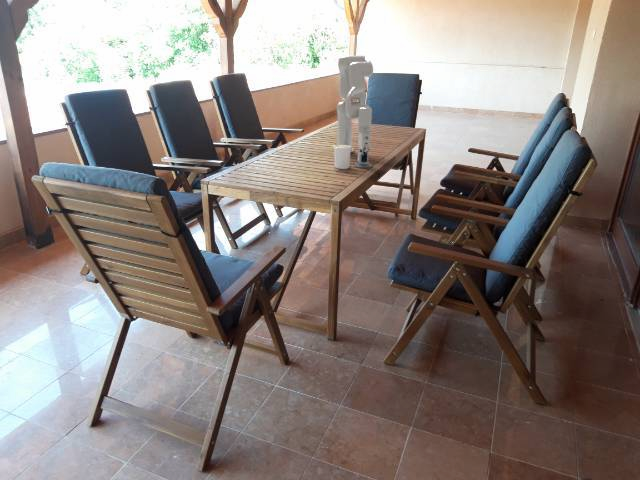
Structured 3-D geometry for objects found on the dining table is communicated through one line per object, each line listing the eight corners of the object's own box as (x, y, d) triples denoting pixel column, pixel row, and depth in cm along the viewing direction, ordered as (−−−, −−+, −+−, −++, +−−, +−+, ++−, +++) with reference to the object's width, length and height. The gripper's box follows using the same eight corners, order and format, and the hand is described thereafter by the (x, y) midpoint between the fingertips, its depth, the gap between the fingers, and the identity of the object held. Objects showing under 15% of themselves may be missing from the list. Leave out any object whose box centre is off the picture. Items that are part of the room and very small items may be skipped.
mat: (353, 163, 284) (353, 162, 283) (367, 163, 285) (367, 162, 285) (357, 167, 275) (357, 166, 274) (372, 167, 276) (372, 166, 276)
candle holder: (336, 169, 270) (336, 148, 266) (331, 165, 279) (331, 145, 274) (352, 168, 273) (353, 147, 268) (347, 164, 281) (347, 144, 277)
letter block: (365, 160, 282) (366, 151, 280) (368, 162, 277) (368, 153, 275) (357, 160, 281) (357, 152, 279) (359, 162, 276) (359, 153, 274)
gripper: (375, 131, 265) (373, 164, 272) (366, 126, 280) (364, 157, 287) (362, 132, 264) (360, 164, 271) (354, 127, 279) (352, 157, 286)
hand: (362, 160), depth 279 cm, fingers closed on letter block, 4 cm apart
